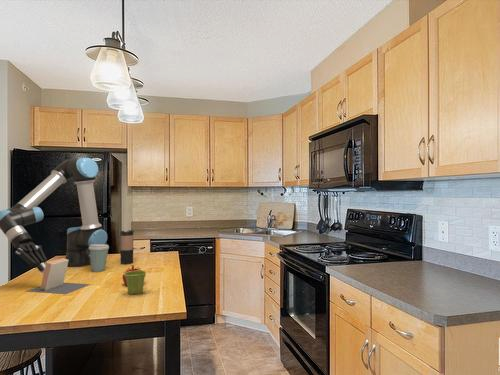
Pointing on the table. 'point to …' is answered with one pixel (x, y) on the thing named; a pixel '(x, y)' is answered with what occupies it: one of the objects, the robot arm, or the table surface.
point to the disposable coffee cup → (98, 256)
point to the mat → (60, 288)
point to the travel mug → (126, 247)
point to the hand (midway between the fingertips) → (48, 275)
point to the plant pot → (135, 281)
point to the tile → (54, 273)
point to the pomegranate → (129, 271)
